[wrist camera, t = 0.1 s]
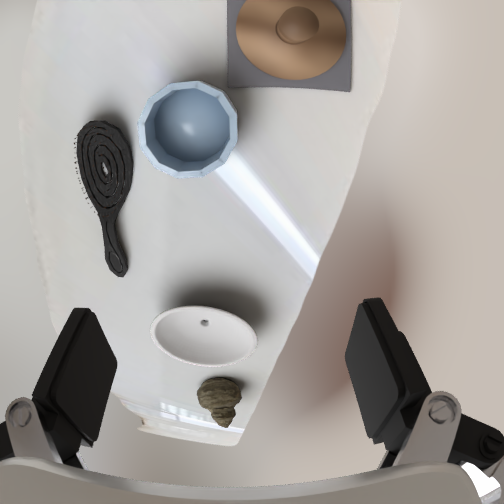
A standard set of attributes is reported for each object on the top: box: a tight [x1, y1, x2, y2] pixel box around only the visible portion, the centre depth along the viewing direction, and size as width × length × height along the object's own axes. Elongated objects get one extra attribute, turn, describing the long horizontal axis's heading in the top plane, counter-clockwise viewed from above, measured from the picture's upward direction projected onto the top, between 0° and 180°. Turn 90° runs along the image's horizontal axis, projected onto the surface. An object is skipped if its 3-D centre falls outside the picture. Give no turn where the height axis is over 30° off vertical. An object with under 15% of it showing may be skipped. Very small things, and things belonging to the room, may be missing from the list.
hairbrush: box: [74, 121, 133, 277], centre depth 39 cm, size 8×4×25 cm
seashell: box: [197, 378, 242, 428], centre depth 59 cm, size 11×12×10 cm
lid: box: [236, 0, 346, 80], centre depth 26 cm, size 13×13×6 cm
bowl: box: [137, 81, 238, 178], centre depth 33 cm, size 11×11×5 cm
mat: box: [227, 0, 351, 92], centre depth 29 cm, size 15×15×1 cm
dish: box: [150, 306, 258, 367], centre depth 50 cm, size 18×14×5 cm
